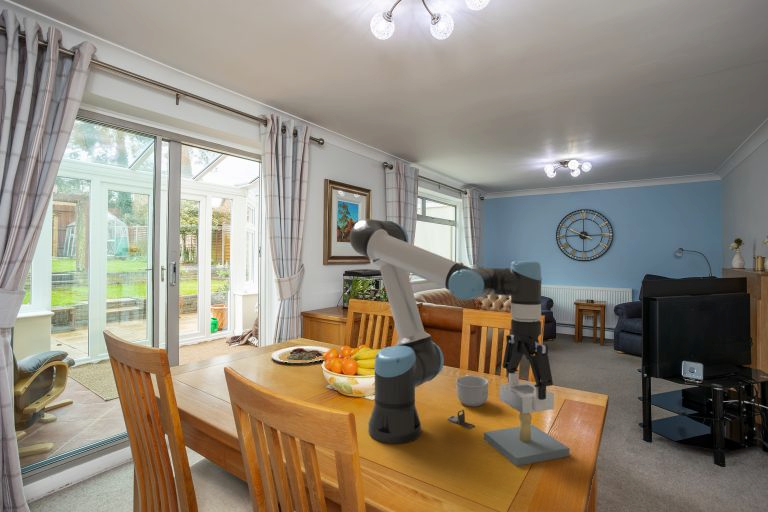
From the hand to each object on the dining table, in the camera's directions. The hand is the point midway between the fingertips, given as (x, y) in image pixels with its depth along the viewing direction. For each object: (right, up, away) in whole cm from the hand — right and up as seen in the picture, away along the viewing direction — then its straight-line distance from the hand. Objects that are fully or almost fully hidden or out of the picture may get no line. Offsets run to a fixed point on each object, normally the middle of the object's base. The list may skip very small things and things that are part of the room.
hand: (525, 403), depth 101 cm
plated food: (-78, -11, +88) cm, 118 cm away
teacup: (-7, -12, +32) cm, 34 cm away
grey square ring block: (0, 0, 0) cm, 0 cm away
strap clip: (-14, -12, +15) cm, 24 cm away
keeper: (0, -12, 0) cm, 12 cm away
